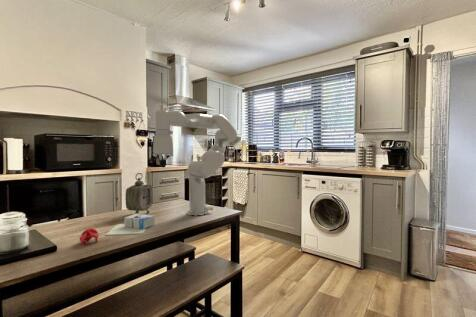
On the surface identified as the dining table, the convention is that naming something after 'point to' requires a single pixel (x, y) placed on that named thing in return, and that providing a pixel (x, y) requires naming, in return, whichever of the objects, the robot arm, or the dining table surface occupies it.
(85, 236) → the red hair claw clip
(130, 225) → the ink box
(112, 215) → the dining table surface
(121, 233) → the mat
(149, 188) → the tabletop clock
